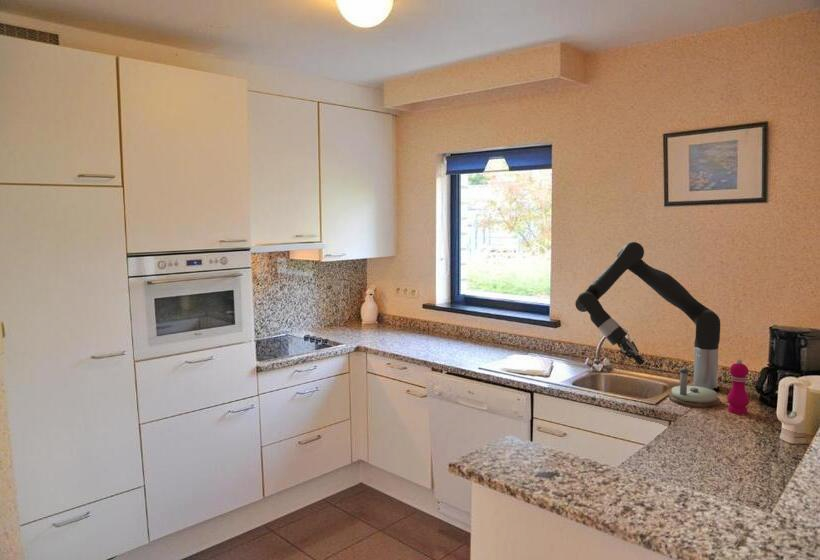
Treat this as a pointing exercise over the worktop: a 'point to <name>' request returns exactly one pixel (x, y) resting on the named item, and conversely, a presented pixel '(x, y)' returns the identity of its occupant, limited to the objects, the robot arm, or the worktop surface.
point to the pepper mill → (738, 389)
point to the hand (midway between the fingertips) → (642, 363)
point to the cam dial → (692, 391)
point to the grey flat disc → (694, 403)
